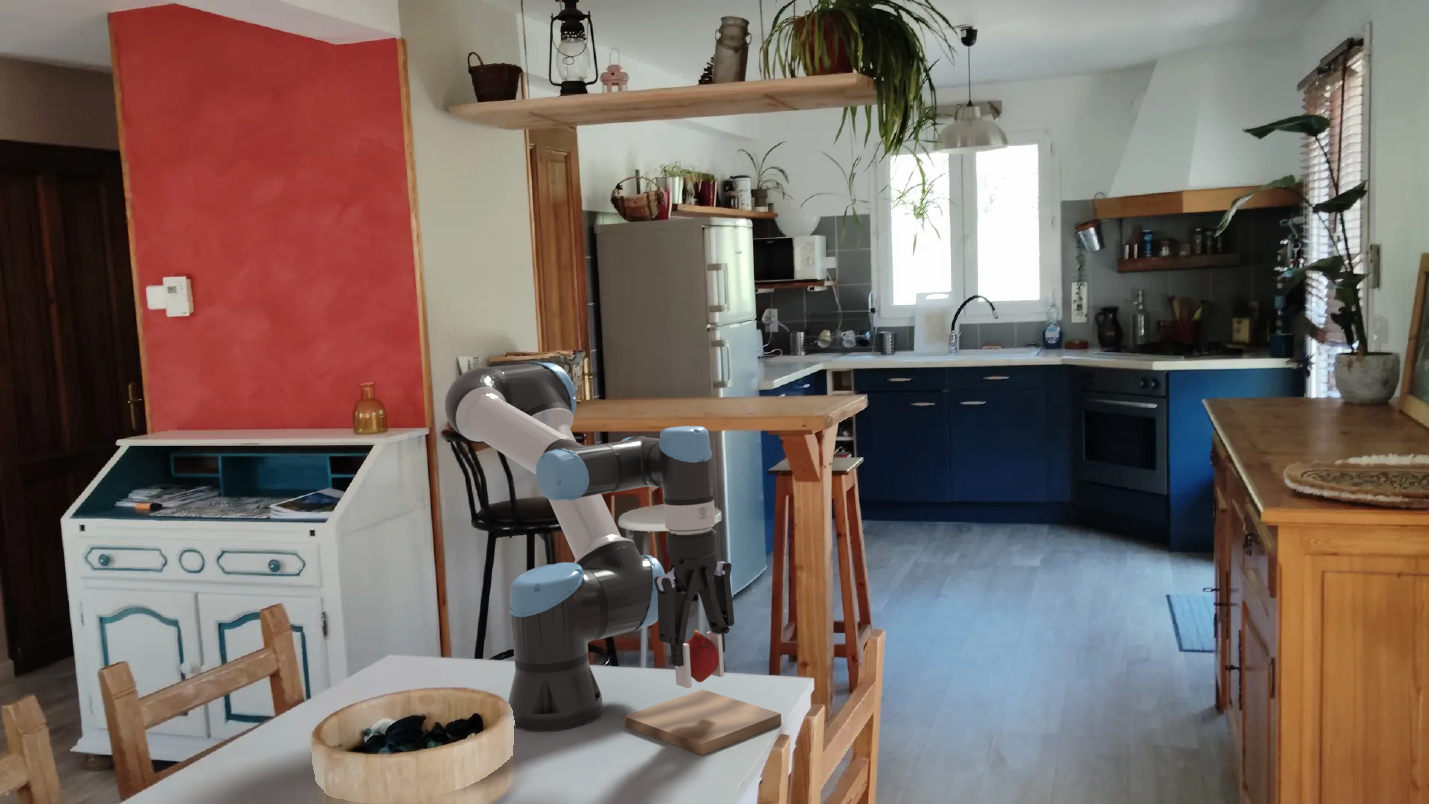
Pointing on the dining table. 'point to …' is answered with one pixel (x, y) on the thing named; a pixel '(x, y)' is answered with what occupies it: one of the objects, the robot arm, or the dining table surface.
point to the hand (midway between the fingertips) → (700, 680)
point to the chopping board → (702, 721)
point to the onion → (702, 656)
